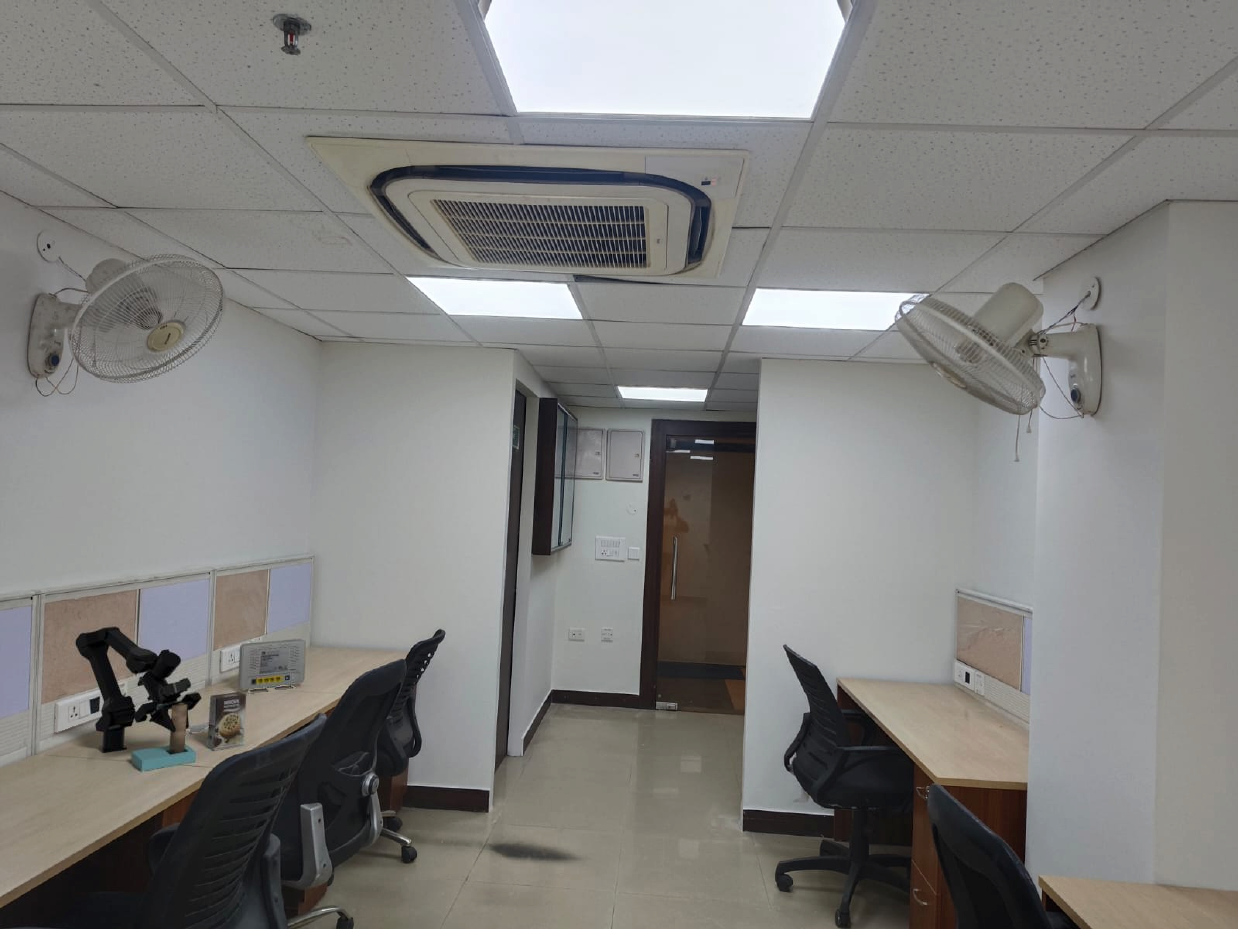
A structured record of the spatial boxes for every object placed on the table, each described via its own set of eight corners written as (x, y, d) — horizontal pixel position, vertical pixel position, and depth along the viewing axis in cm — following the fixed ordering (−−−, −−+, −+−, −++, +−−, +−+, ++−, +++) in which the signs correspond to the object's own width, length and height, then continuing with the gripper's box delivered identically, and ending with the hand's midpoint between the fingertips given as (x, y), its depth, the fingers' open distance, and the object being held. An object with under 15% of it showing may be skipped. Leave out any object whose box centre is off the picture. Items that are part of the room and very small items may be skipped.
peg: (166, 758, 233) (169, 707, 234) (172, 754, 237) (175, 703, 238) (180, 758, 233) (183, 707, 234) (186, 754, 237) (189, 703, 238)
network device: (299, 684, 343) (301, 638, 344) (306, 688, 336) (308, 640, 337) (236, 692, 327) (238, 643, 328) (241, 696, 320) (244, 646, 321)
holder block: (131, 762, 234) (131, 751, 234) (183, 752, 244) (183, 742, 244) (141, 771, 225) (142, 761, 226) (195, 762, 235) (195, 751, 235)
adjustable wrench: (238, 717, 288) (238, 712, 288) (251, 720, 286) (251, 715, 286) (175, 733, 265) (176, 728, 266) (189, 736, 263) (189, 731, 263)
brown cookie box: (214, 751, 246) (216, 698, 247) (206, 747, 250) (209, 695, 251) (244, 745, 252) (246, 694, 253) (236, 741, 257) (239, 691, 258)
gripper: (142, 676, 230) (167, 719, 225) (199, 665, 247) (222, 705, 242) (122, 700, 232) (146, 744, 227) (180, 688, 250) (203, 728, 245)
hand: (181, 729), depth 235 cm, fingers closed on peg, 4 cm apart
